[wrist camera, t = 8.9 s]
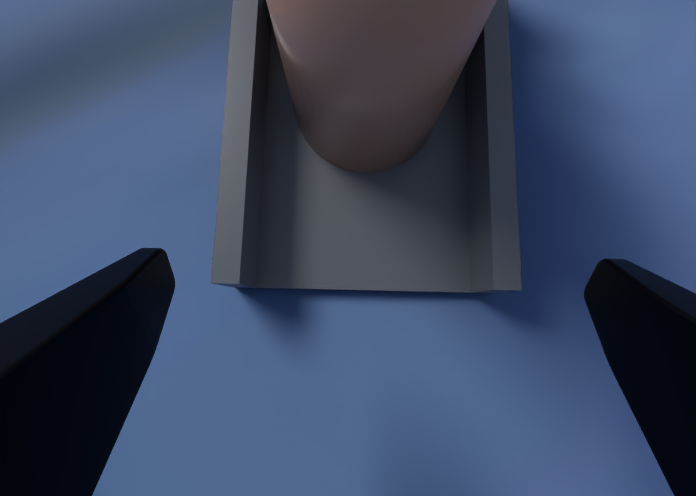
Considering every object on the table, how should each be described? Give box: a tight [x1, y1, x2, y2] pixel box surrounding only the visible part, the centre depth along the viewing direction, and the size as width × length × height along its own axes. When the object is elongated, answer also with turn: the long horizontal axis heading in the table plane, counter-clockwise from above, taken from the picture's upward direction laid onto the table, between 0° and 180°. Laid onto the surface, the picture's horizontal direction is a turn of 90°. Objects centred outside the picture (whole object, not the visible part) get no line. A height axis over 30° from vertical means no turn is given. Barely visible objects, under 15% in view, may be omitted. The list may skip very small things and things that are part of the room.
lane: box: [211, 0, 522, 293], centre depth 14 cm, size 15×11×6 cm
